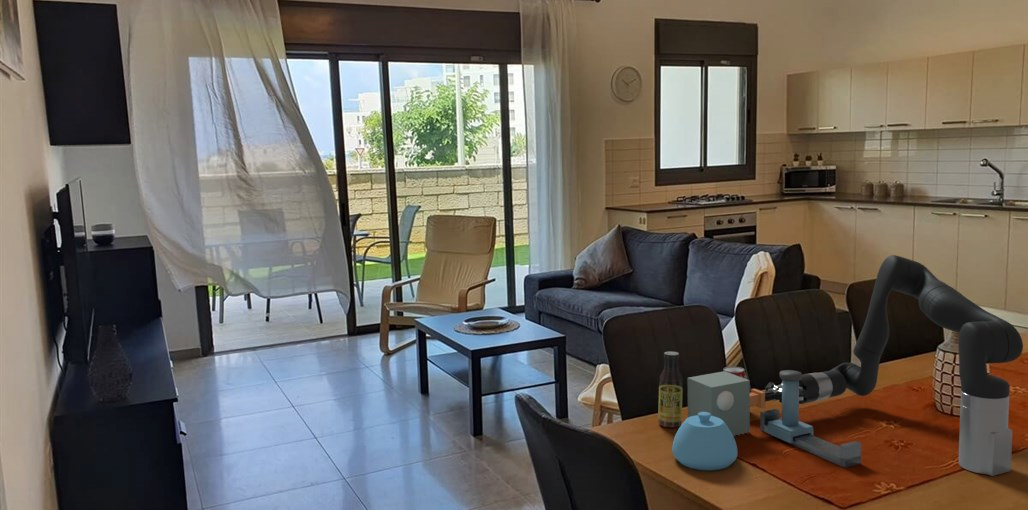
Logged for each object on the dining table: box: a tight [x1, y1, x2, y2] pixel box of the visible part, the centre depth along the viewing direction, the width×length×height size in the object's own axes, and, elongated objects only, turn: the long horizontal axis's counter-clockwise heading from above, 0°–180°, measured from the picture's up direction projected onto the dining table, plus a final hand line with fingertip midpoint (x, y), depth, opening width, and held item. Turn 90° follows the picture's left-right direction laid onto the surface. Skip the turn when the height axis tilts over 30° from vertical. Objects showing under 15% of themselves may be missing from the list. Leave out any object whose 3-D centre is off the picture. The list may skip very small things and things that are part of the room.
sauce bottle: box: [657, 351, 684, 429], centre depth 209 cm, size 7×6×20 cm
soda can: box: [723, 365, 748, 380], centre depth 219 cm, size 7×7×12 cm
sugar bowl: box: [671, 412, 738, 471], centre depth 185 cm, size 15×15×12 cm
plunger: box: [750, 388, 766, 409], centre depth 203 cm, size 4×8×4 cm, turn 113°
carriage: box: [767, 369, 814, 444], centre depth 196 cm, size 8×7×16 cm
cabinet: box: [686, 370, 751, 437], centre depth 203 cm, size 11×12×14 cm
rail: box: [759, 408, 862, 469], centre depth 191 cm, size 28×5×5 cm, turn 23°
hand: (759, 397), depth 205 cm, fingers closed
